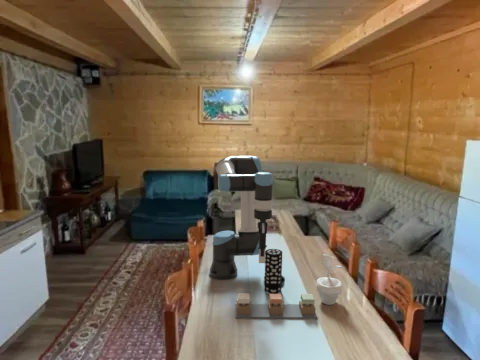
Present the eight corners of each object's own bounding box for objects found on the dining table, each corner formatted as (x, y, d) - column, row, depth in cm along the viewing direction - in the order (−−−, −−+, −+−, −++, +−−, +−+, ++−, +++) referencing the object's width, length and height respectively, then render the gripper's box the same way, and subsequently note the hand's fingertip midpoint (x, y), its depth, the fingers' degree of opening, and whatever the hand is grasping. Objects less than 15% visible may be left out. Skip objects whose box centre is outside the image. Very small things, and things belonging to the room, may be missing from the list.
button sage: (300, 304, 164) (300, 293, 163) (311, 304, 164) (312, 294, 163) (302, 310, 159) (303, 299, 158) (314, 310, 159) (314, 299, 158)
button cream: (237, 304, 164) (238, 293, 163) (249, 304, 164) (249, 293, 163) (238, 310, 159) (238, 299, 158) (249, 310, 159) (249, 299, 158)
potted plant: (310, 298, 175) (313, 248, 170) (330, 294, 179) (333, 245, 175) (326, 311, 163) (329, 257, 159) (347, 306, 168) (351, 254, 164)
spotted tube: (271, 284, 188) (272, 247, 185) (284, 290, 182) (285, 252, 179) (260, 289, 183) (261, 251, 179) (273, 295, 177) (274, 256, 173)
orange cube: (269, 304, 164) (269, 293, 163) (280, 304, 164) (280, 293, 163) (270, 310, 159) (270, 299, 158) (281, 310, 159) (282, 299, 158)
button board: (235, 305, 167) (235, 297, 166) (312, 306, 168) (312, 298, 167) (235, 318, 156) (235, 310, 155) (317, 319, 157) (318, 310, 156)
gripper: (253, 205, 161) (253, 257, 165) (254, 212, 148) (253, 268, 152) (271, 205, 161) (269, 257, 165) (273, 212, 148) (271, 268, 152)
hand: (261, 262), depth 158 cm, fingers closed
